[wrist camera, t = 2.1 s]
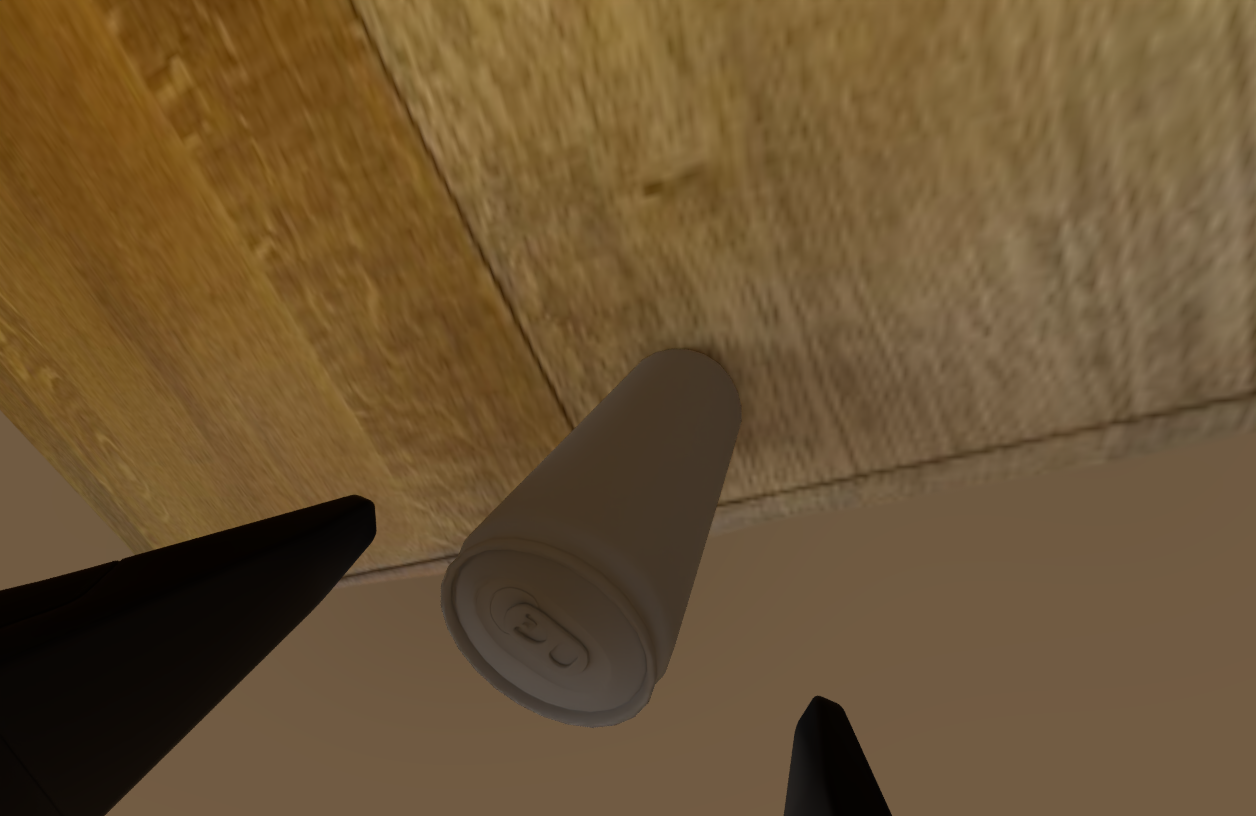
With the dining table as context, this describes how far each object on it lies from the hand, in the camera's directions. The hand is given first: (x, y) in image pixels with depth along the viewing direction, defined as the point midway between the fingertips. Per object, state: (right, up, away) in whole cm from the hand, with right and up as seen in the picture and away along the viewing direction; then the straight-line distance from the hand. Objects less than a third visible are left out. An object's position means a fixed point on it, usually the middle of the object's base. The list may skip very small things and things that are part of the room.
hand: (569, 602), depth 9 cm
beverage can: (+3, +4, +11) cm, 12 cm away
